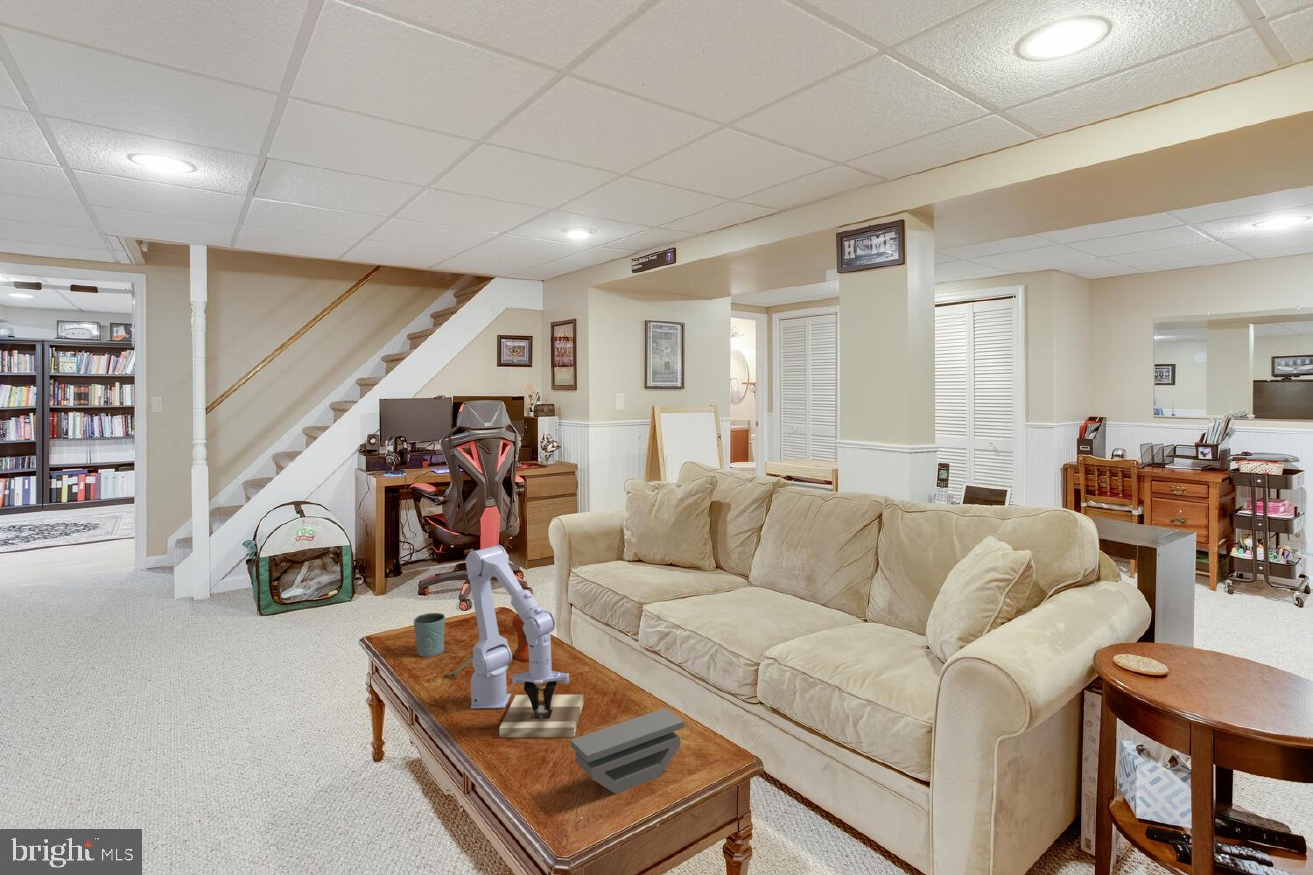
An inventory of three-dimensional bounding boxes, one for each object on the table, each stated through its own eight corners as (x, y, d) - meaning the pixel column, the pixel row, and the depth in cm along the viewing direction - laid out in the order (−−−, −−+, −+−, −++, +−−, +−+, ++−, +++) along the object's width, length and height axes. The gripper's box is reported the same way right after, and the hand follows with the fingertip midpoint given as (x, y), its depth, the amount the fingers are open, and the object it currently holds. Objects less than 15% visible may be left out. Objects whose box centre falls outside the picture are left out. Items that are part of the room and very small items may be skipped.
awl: (535, 720, 173) (534, 690, 172) (538, 714, 176) (537, 685, 175) (546, 720, 172) (545, 690, 172) (549, 715, 175) (548, 685, 175)
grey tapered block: (588, 805, 139) (586, 755, 138) (571, 786, 146) (570, 739, 145) (684, 766, 153) (683, 721, 152) (665, 751, 159) (664, 707, 158)
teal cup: (434, 644, 230) (433, 610, 229) (452, 650, 224) (451, 616, 223) (408, 654, 221) (407, 619, 221) (427, 660, 216) (425, 625, 215)
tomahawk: (462, 683, 201) (462, 679, 201) (442, 679, 203) (442, 676, 202) (494, 654, 221) (494, 651, 221) (476, 651, 223) (476, 648, 223)
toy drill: (545, 668, 205) (540, 620, 205) (511, 659, 218) (506, 614, 218) (558, 663, 208) (552, 615, 208) (523, 654, 221) (519, 610, 222)
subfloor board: (499, 737, 167) (499, 727, 167) (516, 703, 185) (515, 694, 185) (574, 736, 167) (574, 727, 166) (583, 702, 185) (583, 694, 184)
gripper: (508, 665, 169) (510, 716, 170) (565, 664, 168) (566, 716, 169) (515, 654, 176) (517, 703, 177) (569, 653, 175) (570, 702, 176)
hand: (541, 708), depth 174 cm, fingers closed on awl, 3 cm apart
